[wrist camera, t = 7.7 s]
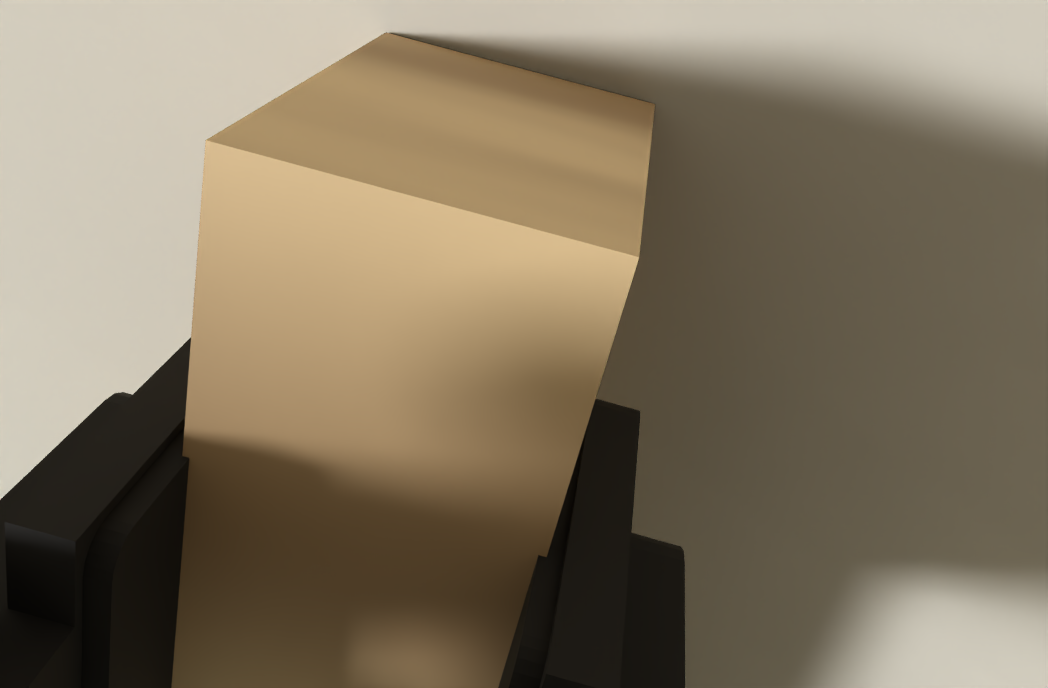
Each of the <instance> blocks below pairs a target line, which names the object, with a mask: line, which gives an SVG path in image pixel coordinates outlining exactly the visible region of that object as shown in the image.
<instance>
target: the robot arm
mask: <svg viewBox="0 0 1048 688" xmlns="http://www.w3.org/2000/svg"><path fill="white" fill-rule="evenodd" d="M190 346H191V338H190V339H189V340H188V341H187V342H186V343H185V344H184V345H183V346H182V347H181V348H180V349H179V350H178V351H177V352H176V353H175V354H174V355H173V356H172V357H171V358H170V359H169V360H168V361H167V362H166V363H165V364H164V365H163V366H162V367H160V368H159V369H158V370H157V371H156V372H155V373H154V374H153V375H152V376H151V377H150V378H149V379H148V380H147V381H146V382H145V383H144V384H143V385H142V386H141V387H140V388H139V389H138V390H137V391H136V392H135V393H134V394H133V395H131V394H128V393H124V392H122V393H115V394H113V395H112V396H111V397H109V398H108V399H106V400H105V401H104V402H103V403H102V404H101V405H100V406H99V407H97V408H96V409H95V410H94V411H93V412H92V413H91V414H90V415H89V416H88V417H87V418H86V419H85V420H84V421H83V422H82V423H81V424H80V425H79V426H78V427H76V428H75V429H74V430H73V431H72V432H71V433H70V434H69V435H68V436H67V437H66V438H65V439H64V440H63V441H62V442H61V443H60V444H59V445H58V446H56V447H55V448H54V449H53V450H52V451H51V452H50V453H49V454H48V455H47V456H46V457H45V458H44V459H43V460H42V461H41V462H40V463H39V464H38V465H36V466H35V467H34V468H33V469H32V470H31V471H30V472H29V473H28V474H27V475H26V476H25V477H24V478H23V479H22V480H21V481H20V482H19V483H18V484H16V485H15V486H14V487H13V488H12V489H11V490H10V491H9V492H8V493H7V494H6V495H5V496H4V497H3V498H2V499H1V500H0V688H171V687H172V674H173V661H174V649H175V636H176V623H177V610H178V598H179V585H180V572H181V560H182V547H183V534H184V521H185V509H186V496H187V483H188V470H189V458H188V457H185V456H182V454H183V441H184V427H185V414H186V400H187V387H188V373H189V360H190ZM639 423H640V411H638V410H634V409H631V408H627V407H623V406H620V405H616V404H612V403H609V402H605V401H602V400H598V399H595V402H594V405H593V408H592V412H591V415H590V418H589V421H588V425H587V428H586V431H585V434H584V438H583V441H582V444H581V447H580V450H579V454H578V457H577V460H576V463H575V467H574V470H573V473H572V476H571V480H570V483H569V486H568V489H567V493H566V496H565V499H564V502H563V505H562V509H561V512H560V515H559V518H558V522H557V525H556V528H555V531H554V535H553V538H552V541H551V544H550V547H549V551H548V554H547V557H544V556H540V555H538V558H537V561H536V565H535V568H534V571H533V575H532V578H531V581H530V584H529V588H528V591H527V594H526V598H525V601H524V604H523V608H522V611H521V614H520V617H519V621H518V624H517V627H516V631H515V634H514V637H513V640H512V644H511V647H510V650H509V654H508V657H507V660H506V663H505V667H504V670H503V673H502V677H501V680H500V683H499V687H498V688H685V561H684V551H683V549H682V548H681V547H680V546H676V545H673V544H669V543H666V542H662V541H658V540H655V539H651V538H648V537H644V536H640V535H637V534H633V533H631V530H632V516H633V503H634V490H635V476H636V463H637V450H638V436H639Z"/></svg>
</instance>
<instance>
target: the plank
mask: <svg viewBox="0 0 1048 688" xmlns="http://www.w3.org/2000/svg"><path fill="white" fill-rule="evenodd" d="M654 110H655V104H653V103H649V102H645V101H641V100H638V99H634V98H630V97H626V96H623V95H619V94H615V93H611V92H608V91H604V90H600V89H596V88H593V87H589V86H585V85H581V84H578V83H574V82H570V81H566V80H563V79H559V78H555V77H551V76H548V75H544V74H540V73H536V72H533V71H529V70H525V69H521V68H517V67H514V66H510V65H506V64H502V63H499V62H495V61H491V60H487V59H484V58H480V57H476V56H472V55H469V54H465V53H461V52H457V51H454V50H450V49H446V48H442V47H439V46H435V45H431V44H427V43H424V42H420V41H416V40H412V39H409V38H405V37H401V36H397V35H394V34H390V33H384V34H383V35H381V36H379V37H378V38H376V39H374V40H373V41H371V42H369V43H367V44H366V45H364V46H362V47H361V48H359V49H357V50H356V51H354V52H352V53H351V54H349V55H347V56H346V57H344V58H342V59H341V60H339V61H337V62H336V63H334V64H332V65H331V66H329V67H327V68H326V69H324V70H322V71H321V72H319V73H317V74H316V75H314V76H312V77H311V78H309V79H307V80H306V81H304V82H302V83H301V84H299V85H297V86H296V87H294V88H292V89H291V90H289V91H287V92H286V93H284V94H282V95H281V96H279V97H277V98H276V99H274V100H272V101H271V102H269V103H267V104H266V105H264V106H262V107H261V108H259V109H257V110H256V111H254V112H252V113H250V114H249V115H247V116H245V117H244V118H242V119H240V120H239V121H237V122H235V123H234V124H232V125H230V126H229V127H227V128H225V129H224V130H222V131H220V132H219V133H217V134H215V135H214V136H212V137H210V138H209V139H207V140H206V144H205V158H204V171H203V185H202V198H201V212H200V225H199V239H198V252H197V266H196V279H195V293H194V306H193V320H192V333H191V346H190V360H189V373H188V387H187V400H186V414H185V427H184V441H183V454H182V456H185V457H188V458H189V470H188V483H187V496H186V509H185V521H184V534H183V547H182V560H181V572H180V585H179V598H178V610H177V623H176V636H175V649H174V661H173V674H172V687H171V688H498V687H499V683H500V680H501V677H502V673H503V670H504V667H505V663H506V660H507V657H508V654H509V650H510V647H511V644H512V640H513V637H514V634H515V631H516V627H517V624H518V621H519V617H520V614H521V611H522V608H523V604H524V601H525V598H526V594H527V591H528V588H529V584H530V581H531V578H532V575H533V571H534V568H535V565H536V561H537V558H538V555H540V556H544V557H547V554H548V551H549V547H550V544H551V541H552V538H553V535H554V531H555V528H556V525H557V522H558V518H559V515H560V512H561V509H562V505H563V502H564V499H565V496H566V493H567V489H568V486H569V483H570V480H571V476H572V473H573V470H574V467H575V463H576V460H577V457H578V454H579V450H580V447H581V444H582V441H583V438H584V434H585V431H586V428H587V425H588V421H589V418H590V415H591V412H592V408H593V405H594V402H595V399H596V396H597V392H598V389H599V386H600V383H601V379H602V376H603V373H604V370H605V366H606V363H607V360H608V357H609V353H610V350H611V347H612V344H613V341H614V337H615V334H616V331H617V328H618V324H619V321H620V318H621V315H622V311H623V308H624V305H625V302H626V299H627V295H628V292H629V289H630V286H631V282H632V279H633V276H634V273H635V269H636V266H637V263H638V260H639V255H640V245H641V236H642V226H643V216H644V207H645V197H646V187H647V178H648V168H649V158H650V149H651V139H652V129H653V120H654Z"/></svg>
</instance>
